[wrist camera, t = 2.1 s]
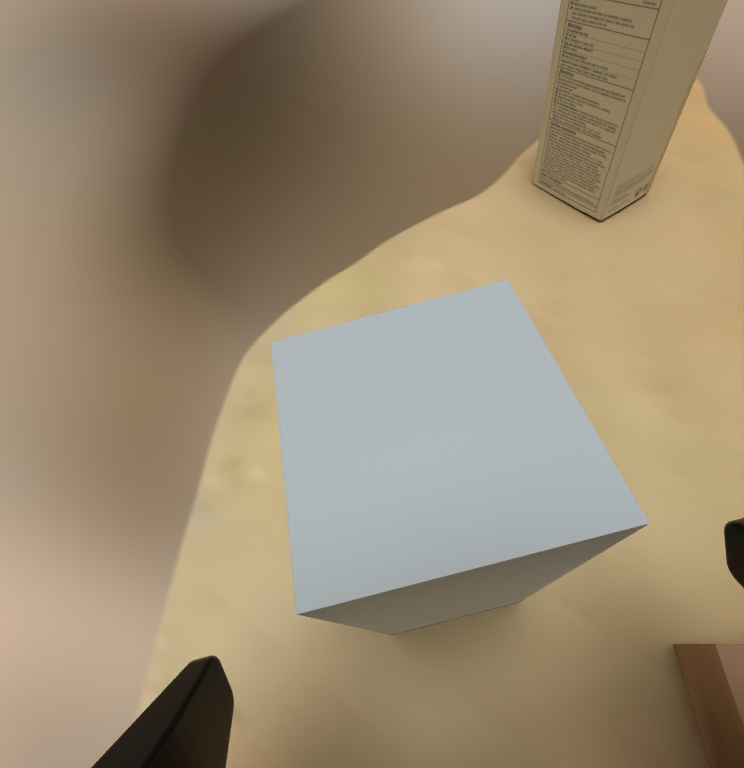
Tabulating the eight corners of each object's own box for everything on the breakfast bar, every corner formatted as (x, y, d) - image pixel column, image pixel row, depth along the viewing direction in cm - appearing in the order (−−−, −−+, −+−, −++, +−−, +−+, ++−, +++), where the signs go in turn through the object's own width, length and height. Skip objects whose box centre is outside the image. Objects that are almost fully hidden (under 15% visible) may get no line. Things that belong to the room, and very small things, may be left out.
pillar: (519, 601, 16) (649, 523, 6) (391, 634, 16) (296, 614, 6) (474, 478, 18) (507, 278, 8) (365, 507, 18) (271, 342, 8)
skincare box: (649, 194, 26) (775, -87, 16) (597, 225, 26) (696, -50, 16) (573, 156, 30) (638, -97, 20) (525, 183, 29) (568, -67, 19)
